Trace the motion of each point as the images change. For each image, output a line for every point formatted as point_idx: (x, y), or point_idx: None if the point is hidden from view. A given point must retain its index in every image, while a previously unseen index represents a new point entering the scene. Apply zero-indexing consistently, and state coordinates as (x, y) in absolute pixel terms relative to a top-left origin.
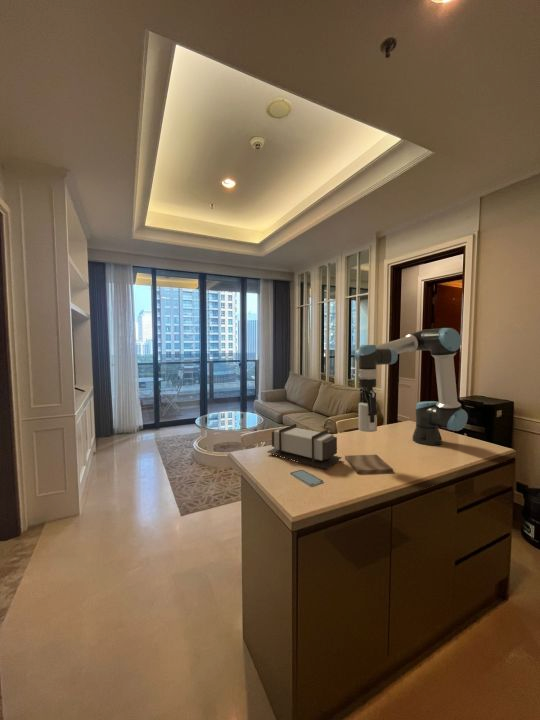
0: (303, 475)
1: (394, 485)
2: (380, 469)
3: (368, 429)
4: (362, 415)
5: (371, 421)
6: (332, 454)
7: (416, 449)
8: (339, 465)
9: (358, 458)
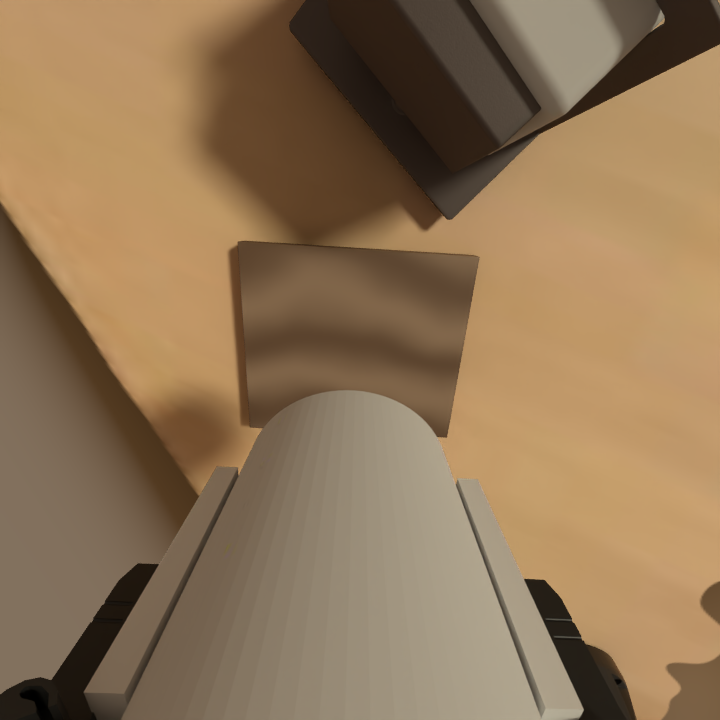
0: None
1: (115, 361)
2: (247, 370)
3: (226, 467)
4: (214, 597)
5: (117, 588)
6: (403, 106)
7: None
8: (376, 175)
9: (414, 322)
